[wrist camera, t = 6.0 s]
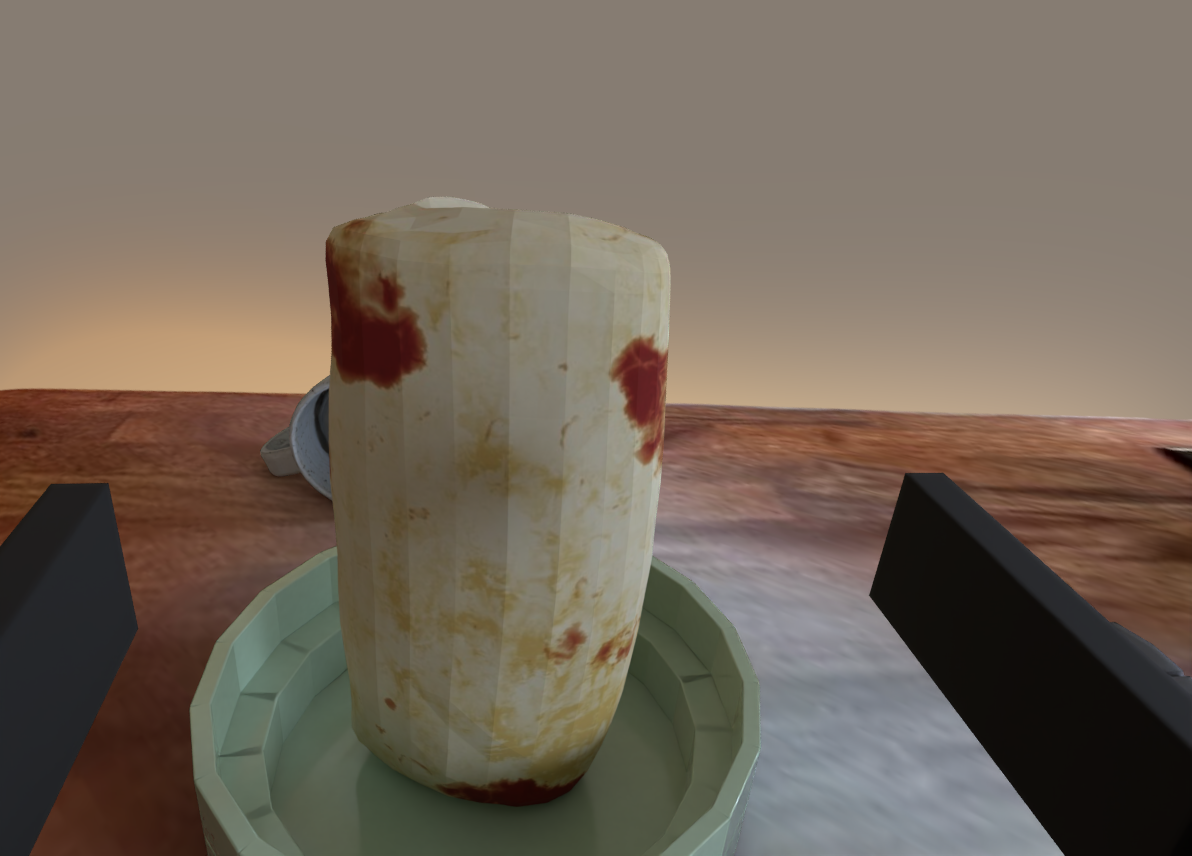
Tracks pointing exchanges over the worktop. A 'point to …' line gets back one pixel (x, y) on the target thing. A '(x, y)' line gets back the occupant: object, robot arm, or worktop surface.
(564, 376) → the food model
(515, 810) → the bowl
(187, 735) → the worktop surface
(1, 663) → the robot arm
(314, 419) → the ceramic mug
